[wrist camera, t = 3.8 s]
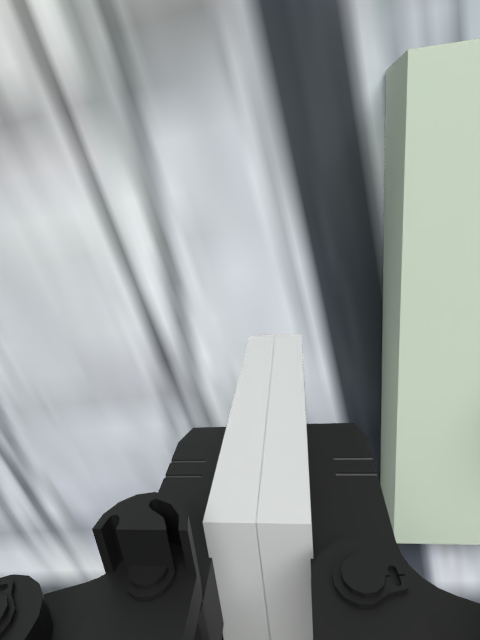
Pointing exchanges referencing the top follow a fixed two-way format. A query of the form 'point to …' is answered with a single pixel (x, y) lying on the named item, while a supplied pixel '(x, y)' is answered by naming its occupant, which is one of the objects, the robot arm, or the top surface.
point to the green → (432, 296)
